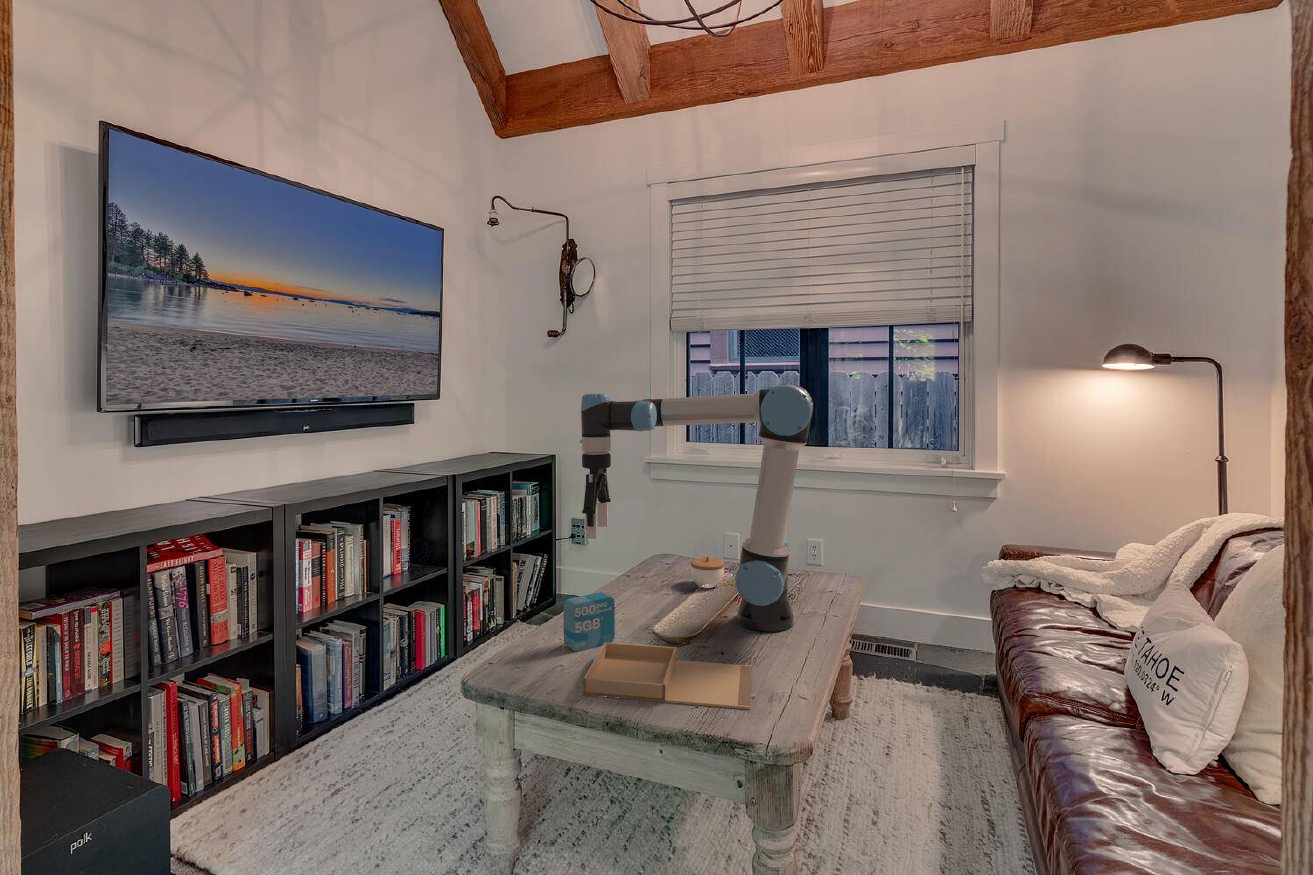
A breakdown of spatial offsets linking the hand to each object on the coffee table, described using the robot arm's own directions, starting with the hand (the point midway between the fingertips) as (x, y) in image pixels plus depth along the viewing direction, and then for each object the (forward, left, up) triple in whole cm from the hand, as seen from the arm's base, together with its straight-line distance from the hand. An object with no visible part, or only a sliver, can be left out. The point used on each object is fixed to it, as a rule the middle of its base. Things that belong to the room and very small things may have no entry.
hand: (597, 532), depth 176 cm
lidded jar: (-26, -37, -25) cm, 52 cm away
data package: (-1, +14, -25) cm, 29 cm away
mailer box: (-24, +30, -25) cm, 46 cm away
